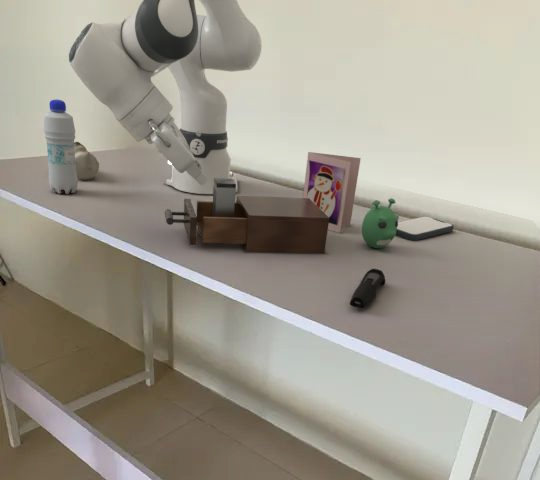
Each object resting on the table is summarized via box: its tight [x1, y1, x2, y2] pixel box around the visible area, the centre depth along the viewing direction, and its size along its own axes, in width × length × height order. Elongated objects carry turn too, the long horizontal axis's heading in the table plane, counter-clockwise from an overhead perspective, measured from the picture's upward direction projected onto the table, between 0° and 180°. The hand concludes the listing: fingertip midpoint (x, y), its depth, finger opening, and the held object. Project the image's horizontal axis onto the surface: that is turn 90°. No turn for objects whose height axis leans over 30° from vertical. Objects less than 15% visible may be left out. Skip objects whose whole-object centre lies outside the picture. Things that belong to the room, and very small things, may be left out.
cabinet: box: [235, 195, 329, 254], centre depth 121 cm, size 16×15×7 cm
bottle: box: [43, 99, 79, 195], centre depth 136 cm, size 7×7×20 cm
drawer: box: [164, 198, 248, 246], centre depth 118 cm, size 19×13×5 cm
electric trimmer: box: [349, 268, 386, 309], centre depth 99 cm, size 4×16×3 cm, turn 159°
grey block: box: [212, 178, 237, 218], centre depth 116 cm, size 4×4×10 cm
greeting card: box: [302, 151, 362, 234], centre depth 133 cm, size 11×7×15 cm, turn 47°
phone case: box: [396, 216, 455, 241], centre depth 138 cm, size 9×2×16 cm
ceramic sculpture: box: [74, 141, 100, 181], centre depth 154 cm, size 11×9×15 cm
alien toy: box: [361, 197, 400, 249], centre depth 122 cm, size 7×8×10 cm
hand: (201, 176), depth 113 cm, fingers open, 8 cm apart
